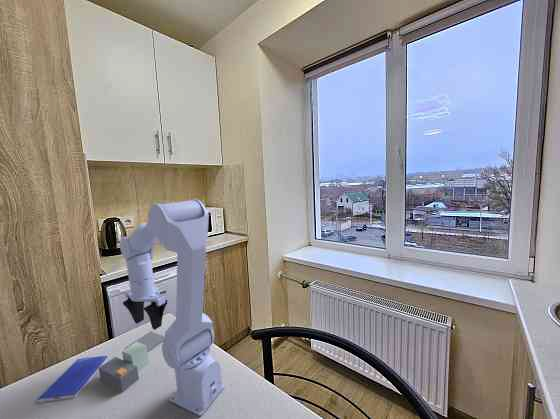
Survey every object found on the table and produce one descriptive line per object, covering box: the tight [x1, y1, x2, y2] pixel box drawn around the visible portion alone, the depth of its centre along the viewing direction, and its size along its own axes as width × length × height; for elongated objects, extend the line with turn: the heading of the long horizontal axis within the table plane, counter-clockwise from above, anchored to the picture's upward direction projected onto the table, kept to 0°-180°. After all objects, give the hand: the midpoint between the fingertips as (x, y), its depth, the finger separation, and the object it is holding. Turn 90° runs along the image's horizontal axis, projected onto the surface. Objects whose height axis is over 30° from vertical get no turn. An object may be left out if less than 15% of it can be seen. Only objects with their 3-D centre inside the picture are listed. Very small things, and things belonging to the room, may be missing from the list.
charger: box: [121, 341, 150, 373], centre depth 63 cm, size 4×6×6 cm
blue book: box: [37, 355, 109, 403], centre depth 62 cm, size 2×8×12 cm
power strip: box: [98, 356, 140, 393], centre depth 60 cm, size 9×4×4 cm, turn 64°
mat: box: [125, 331, 165, 354], centre depth 74 cm, size 8×8×1 cm
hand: (148, 324), depth 67 cm, fingers open, 7 cm apart
